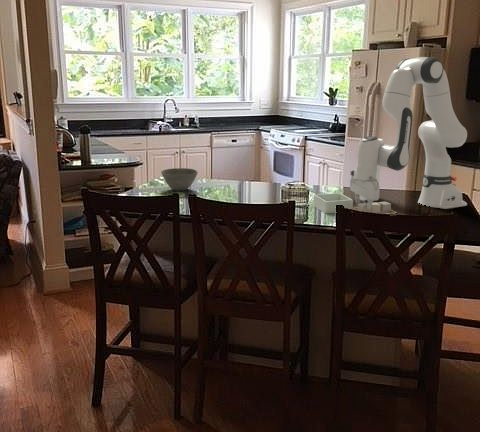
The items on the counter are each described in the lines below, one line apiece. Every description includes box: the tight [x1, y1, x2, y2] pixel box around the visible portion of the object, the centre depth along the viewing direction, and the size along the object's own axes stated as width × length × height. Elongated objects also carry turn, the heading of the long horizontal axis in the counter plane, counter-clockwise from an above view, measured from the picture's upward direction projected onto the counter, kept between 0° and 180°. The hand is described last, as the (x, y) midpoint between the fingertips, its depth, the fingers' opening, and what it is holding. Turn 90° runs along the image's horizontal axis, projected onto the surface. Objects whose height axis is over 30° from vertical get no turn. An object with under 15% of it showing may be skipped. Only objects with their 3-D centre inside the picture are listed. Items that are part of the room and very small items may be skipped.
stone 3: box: [377, 201, 392, 212], centre depth 230 cm, size 4×4×4 cm
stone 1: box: [357, 202, 370, 212], centre depth 228 cm, size 4×4×4 cm
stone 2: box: [370, 201, 381, 212], centre depth 229 cm, size 4×4×4 cm
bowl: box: [160, 167, 199, 192], centre depth 269 cm, size 19×19×10 cm
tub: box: [312, 192, 354, 214], centre depth 235 cm, size 13×13×6 cm
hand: (362, 205), depth 227 cm, fingers open, 8 cm apart
